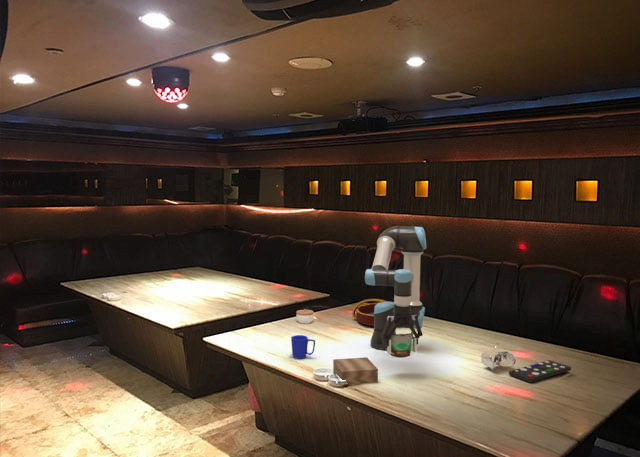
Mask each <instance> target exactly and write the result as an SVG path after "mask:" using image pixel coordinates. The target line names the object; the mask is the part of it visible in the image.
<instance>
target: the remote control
mask: <svg viewBox="0 0 640 457" xmlns="http://www.w3.org/2000/svg"><path fill="white" fill-rule="evenodd" d="M570 371H572V366H570V365H566V364H563V363H560V362H556V361H553V360H550V359H549V360H544V361H541V362H538V363H534V364H530V365H526V366H523V367H520V368H516V369H513V370H510V371H508V375H509V376H512V377H515V378H518V379H520V380H522V381H525V382H528V383H533V382H537V381H539V380H543V379H546V378H549V377H554V376H556V375H560V374H562V373H566V372H570Z"/></svg>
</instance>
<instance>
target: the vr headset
mask: <svg viewBox="0 0 640 457" xmlns="http://www.w3.org/2000/svg"><path fill="white" fill-rule="evenodd" d="M498 347H499V342H496V344H495V348H494V349H493V348H492V349H488V350H484V351H483V352H482V353H481V356H480V359H481V360H480V361H481V364H483V365H484V366H486V367H487V368H489V369H491V371H493V370H495V369H496V366H499V367H502V368H503V367H504V368H511V367H513V366H515V365H516V362H517V358H516V355H515V353H513V351H510V350H506V349H505V350H504V349H502V348H498Z"/></svg>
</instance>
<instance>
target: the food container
mask: <svg viewBox="0 0 640 457" xmlns="http://www.w3.org/2000/svg"><path fill="white" fill-rule="evenodd" d="M413 337H414V334H413V333H412V331H410V332H409V333H396V335H392V336H391V337H390V339H391V354H389V356H391V357H394V358H408V357H410V356H411V350H412V344H413Z"/></svg>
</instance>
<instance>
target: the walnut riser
mask: <svg viewBox="0 0 640 457" xmlns="http://www.w3.org/2000/svg"><path fill="white" fill-rule="evenodd" d="M332 367H333V368H332V372H333V374H334V375H335V374H337V375H338V376H339V377H340V378H341V379H342V380H346V381H347V383H348V385H347V386H353V385H361V384H375V383H377V384H378V383H379V369H378V367H377V366H376V365H375V364H374V363H373V362H372V361H371V360H370V359H369V358H368V357H367V356H366V357H365V356H364V357H353V358H351V357H350V358H334V359H333V366H332Z"/></svg>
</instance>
